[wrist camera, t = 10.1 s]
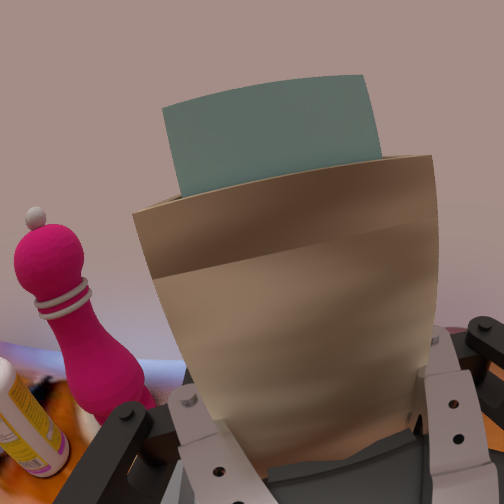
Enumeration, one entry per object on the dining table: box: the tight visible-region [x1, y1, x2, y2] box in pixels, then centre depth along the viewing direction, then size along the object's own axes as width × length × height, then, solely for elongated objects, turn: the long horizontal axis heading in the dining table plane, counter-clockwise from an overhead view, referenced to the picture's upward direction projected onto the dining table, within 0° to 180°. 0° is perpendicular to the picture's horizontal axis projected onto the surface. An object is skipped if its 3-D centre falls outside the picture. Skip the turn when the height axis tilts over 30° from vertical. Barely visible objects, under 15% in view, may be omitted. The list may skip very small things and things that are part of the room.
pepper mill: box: [14, 207, 156, 426], centre depth 18 cm, size 7×7×20 cm
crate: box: [132, 155, 439, 479], centre depth 9 cm, size 6×6×13 cm
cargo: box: [162, 75, 383, 198], centre depth 7 cm, size 4×4×3 cm
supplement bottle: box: [0, 357, 69, 477], centre depth 13 cm, size 7×7×13 cm
